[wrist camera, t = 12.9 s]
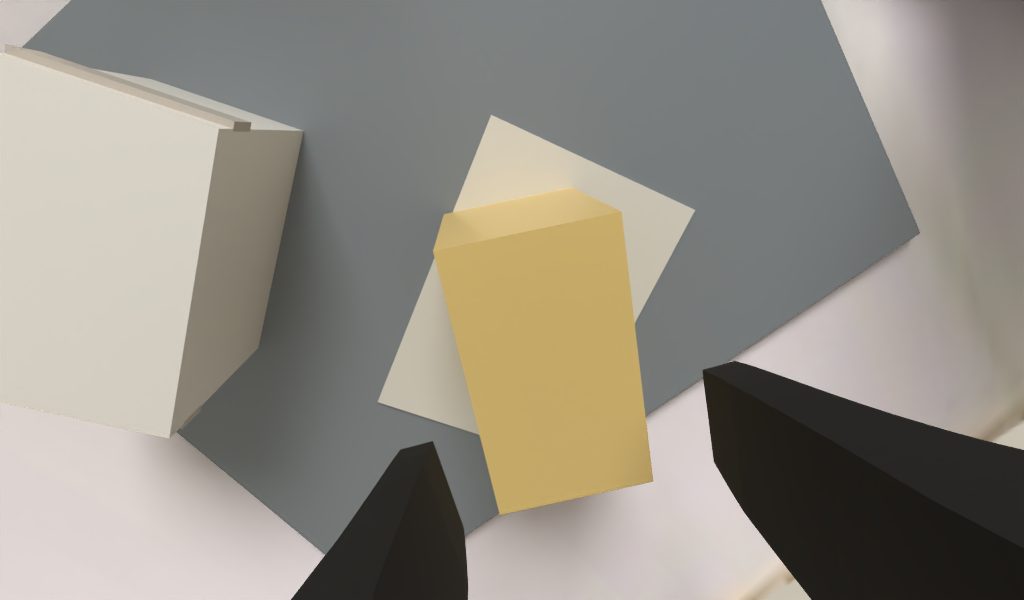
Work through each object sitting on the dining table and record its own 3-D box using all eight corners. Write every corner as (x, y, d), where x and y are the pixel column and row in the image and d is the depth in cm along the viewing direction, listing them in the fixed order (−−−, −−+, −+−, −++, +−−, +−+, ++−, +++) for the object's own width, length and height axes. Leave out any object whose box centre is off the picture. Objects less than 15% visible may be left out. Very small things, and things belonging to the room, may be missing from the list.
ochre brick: (572, 187, 15) (620, 211, 10) (602, 386, 17) (653, 481, 12) (443, 213, 15) (432, 251, 10) (490, 410, 17) (500, 515, 12)
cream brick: (304, 125, 14) (219, 120, 9) (257, 351, 16) (168, 444, 11) (152, 73, 13) (-26, 38, 8) (122, 317, 15) (-34, 401, 10)
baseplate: (598, -488, 11) (604, -517, 10) (910, 230, 17) (922, 233, 16) (-105, 183, 14) (-126, 185, 13) (376, 587, 20) (374, 598, 19)
